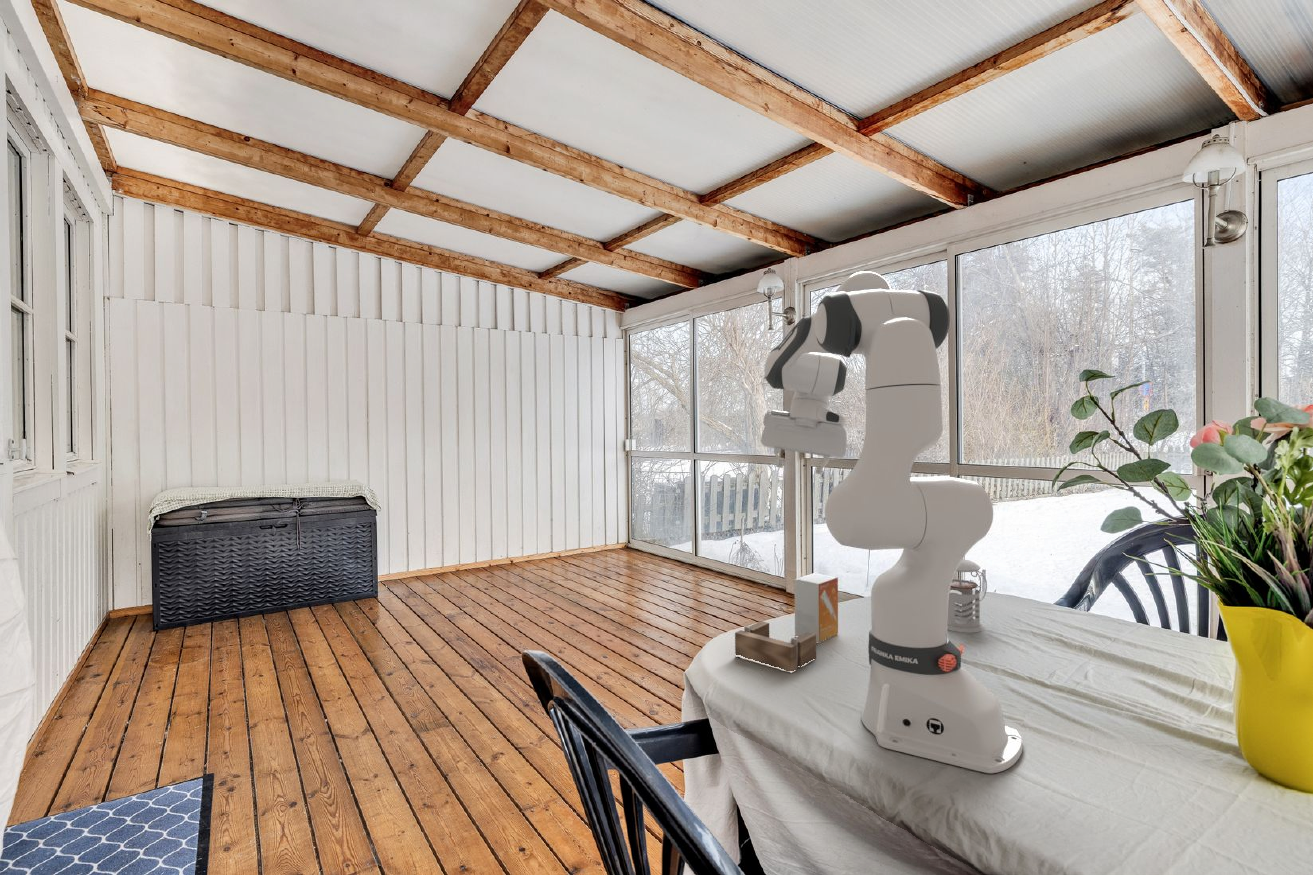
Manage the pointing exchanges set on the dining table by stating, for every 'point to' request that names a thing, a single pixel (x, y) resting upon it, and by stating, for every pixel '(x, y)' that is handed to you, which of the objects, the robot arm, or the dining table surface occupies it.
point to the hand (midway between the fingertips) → (798, 470)
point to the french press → (965, 601)
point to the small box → (816, 606)
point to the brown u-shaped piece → (774, 647)
